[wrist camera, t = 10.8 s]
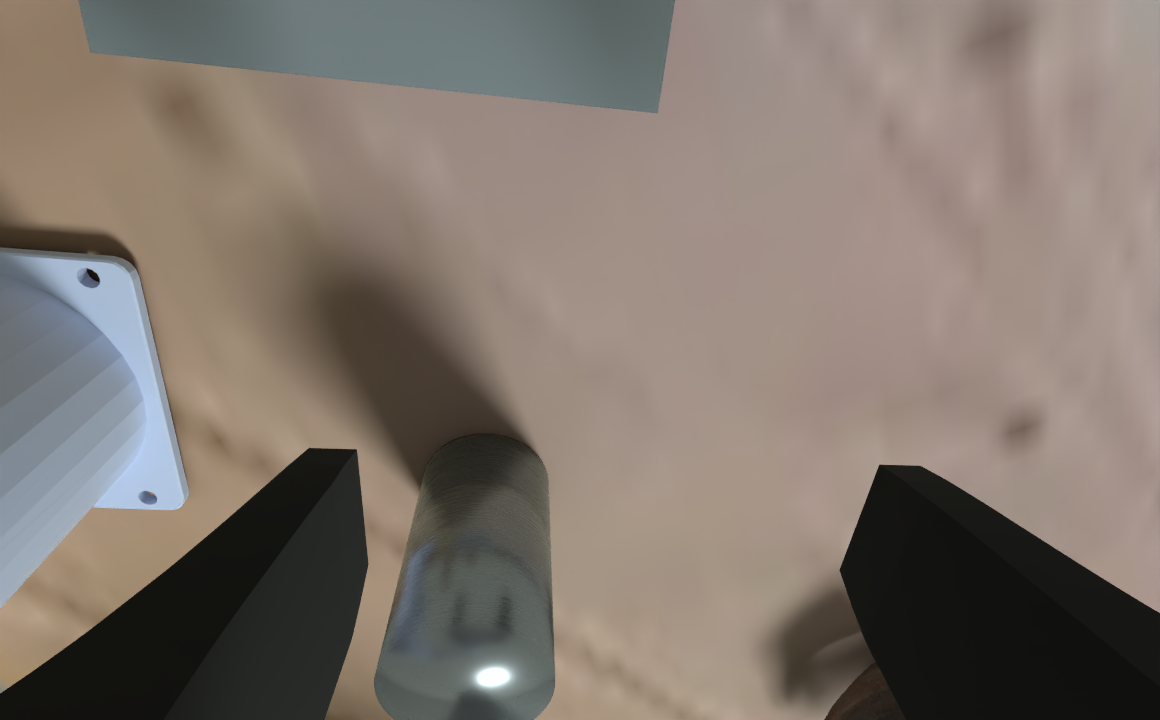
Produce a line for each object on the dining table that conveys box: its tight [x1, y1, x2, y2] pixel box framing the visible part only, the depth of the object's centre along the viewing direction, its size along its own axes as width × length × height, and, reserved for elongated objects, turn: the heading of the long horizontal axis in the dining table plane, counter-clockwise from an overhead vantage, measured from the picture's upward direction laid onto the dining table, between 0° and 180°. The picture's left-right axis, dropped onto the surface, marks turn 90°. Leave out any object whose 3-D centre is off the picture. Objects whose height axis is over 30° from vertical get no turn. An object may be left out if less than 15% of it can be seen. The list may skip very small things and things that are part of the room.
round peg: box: [374, 434, 555, 720], centre depth 17 cm, size 4×4×7 cm
